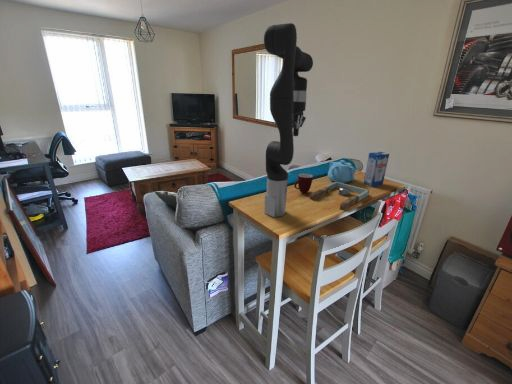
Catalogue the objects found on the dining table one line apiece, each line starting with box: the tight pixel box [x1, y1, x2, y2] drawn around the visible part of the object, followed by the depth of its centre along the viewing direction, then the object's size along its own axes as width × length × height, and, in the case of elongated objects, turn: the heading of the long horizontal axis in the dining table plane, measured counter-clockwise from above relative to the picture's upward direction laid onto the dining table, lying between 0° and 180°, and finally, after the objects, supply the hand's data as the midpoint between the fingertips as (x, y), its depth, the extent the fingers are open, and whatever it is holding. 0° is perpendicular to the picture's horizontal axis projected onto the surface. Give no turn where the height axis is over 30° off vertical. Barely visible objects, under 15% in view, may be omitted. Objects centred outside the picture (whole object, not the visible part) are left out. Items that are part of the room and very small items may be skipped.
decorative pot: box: [327, 159, 356, 184], centre depth 163 cm, size 16×16×14 cm
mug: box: [293, 173, 313, 194], centre depth 143 cm, size 11×8×10 cm
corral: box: [324, 181, 370, 202], centre depth 144 cm, size 13×20×3 cm, turn 46°
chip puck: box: [338, 187, 351, 197], centre depth 143 cm, size 6×6×4 cm
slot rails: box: [309, 186, 358, 211], centre depth 134 cm, size 16×19×3 cm
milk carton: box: [363, 151, 390, 188], centre depth 157 cm, size 10×6×20 cm, turn 115°
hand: (295, 135), depth 132 cm, fingers closed
